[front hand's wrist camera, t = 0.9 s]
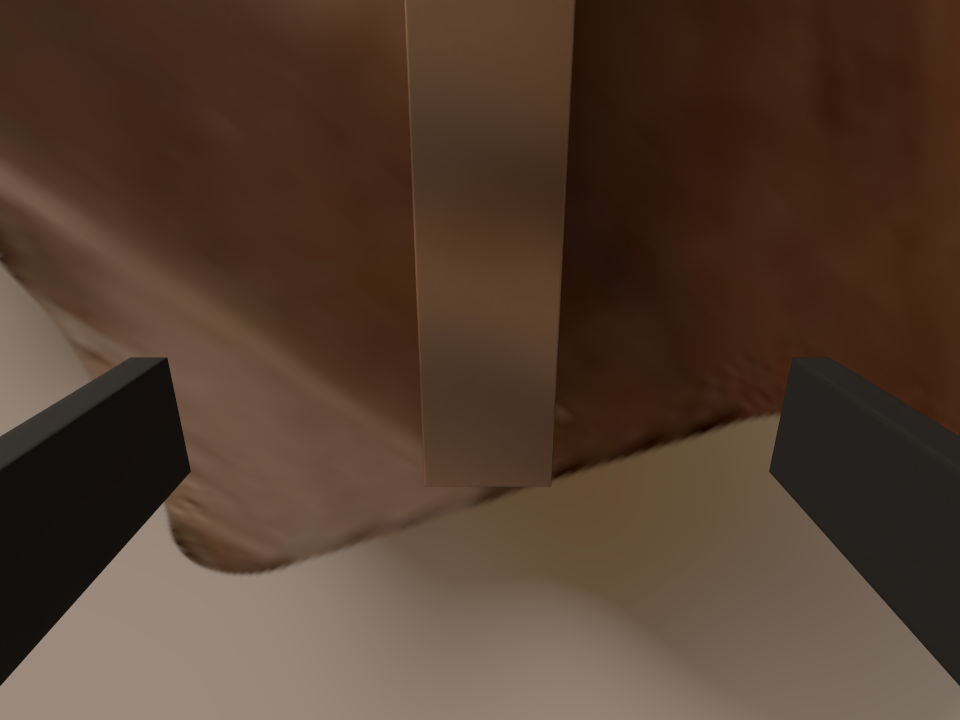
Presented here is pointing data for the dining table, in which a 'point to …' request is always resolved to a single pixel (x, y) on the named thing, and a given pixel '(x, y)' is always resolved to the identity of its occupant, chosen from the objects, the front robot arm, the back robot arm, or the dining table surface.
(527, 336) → the bar
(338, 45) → the dining table surface
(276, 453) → the dining table surface
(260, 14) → the dining table surface
